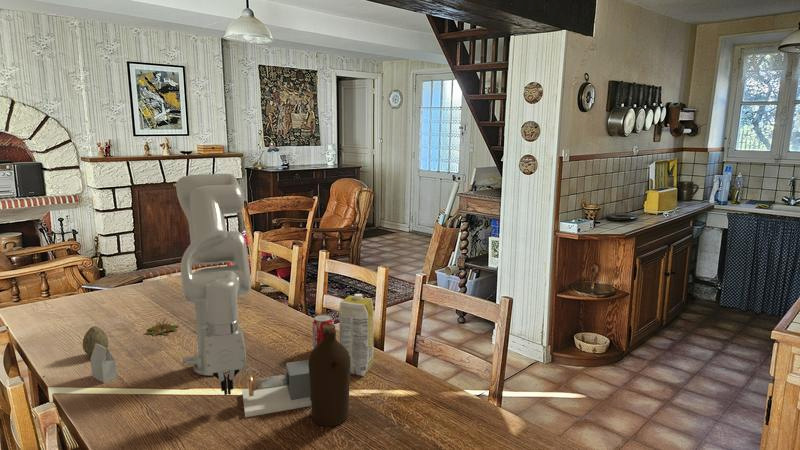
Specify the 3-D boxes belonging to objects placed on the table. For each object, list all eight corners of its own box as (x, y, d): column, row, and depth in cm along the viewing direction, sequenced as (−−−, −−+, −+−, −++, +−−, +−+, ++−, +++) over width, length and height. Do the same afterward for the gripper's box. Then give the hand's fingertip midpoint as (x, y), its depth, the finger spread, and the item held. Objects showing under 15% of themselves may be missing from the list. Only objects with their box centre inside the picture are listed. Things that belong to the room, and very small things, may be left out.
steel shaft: (249, 400, 137) (248, 381, 136) (248, 390, 142) (247, 371, 141) (304, 391, 142) (304, 372, 141) (301, 381, 147) (301, 363, 146)
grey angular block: (104, 383, 150) (100, 351, 148) (92, 376, 154) (88, 345, 152) (116, 378, 153) (113, 346, 151) (105, 372, 157) (101, 341, 155)
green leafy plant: (186, 325, 194) (185, 314, 193) (169, 339, 182) (168, 326, 181) (155, 324, 195) (154, 313, 194) (136, 337, 183) (135, 325, 182)
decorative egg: (114, 353, 169) (111, 324, 167) (93, 362, 163) (90, 332, 161) (99, 349, 172) (96, 320, 170) (79, 357, 166) (75, 328, 164)
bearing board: (245, 417, 134) (243, 386, 132) (242, 394, 145) (241, 366, 143) (347, 399, 143) (346, 370, 141) (337, 379, 154) (336, 352, 152)
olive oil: (359, 415, 135) (359, 325, 131) (329, 433, 128) (327, 338, 123) (331, 401, 142) (330, 315, 137) (301, 417, 134) (298, 326, 129)
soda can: (330, 357, 168) (329, 322, 166) (309, 355, 170) (308, 320, 167) (337, 348, 175) (336, 314, 173) (317, 346, 177) (316, 312, 174)
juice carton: (375, 366, 162) (375, 293, 158) (365, 378, 155) (365, 302, 150) (348, 362, 165) (347, 290, 160) (337, 373, 158) (336, 298, 153)
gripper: (191, 335, 128) (196, 404, 131) (254, 328, 133) (257, 394, 136) (192, 325, 135) (197, 390, 138) (252, 318, 140) (255, 381, 143)
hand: (227, 392), depth 137 cm, fingers closed
